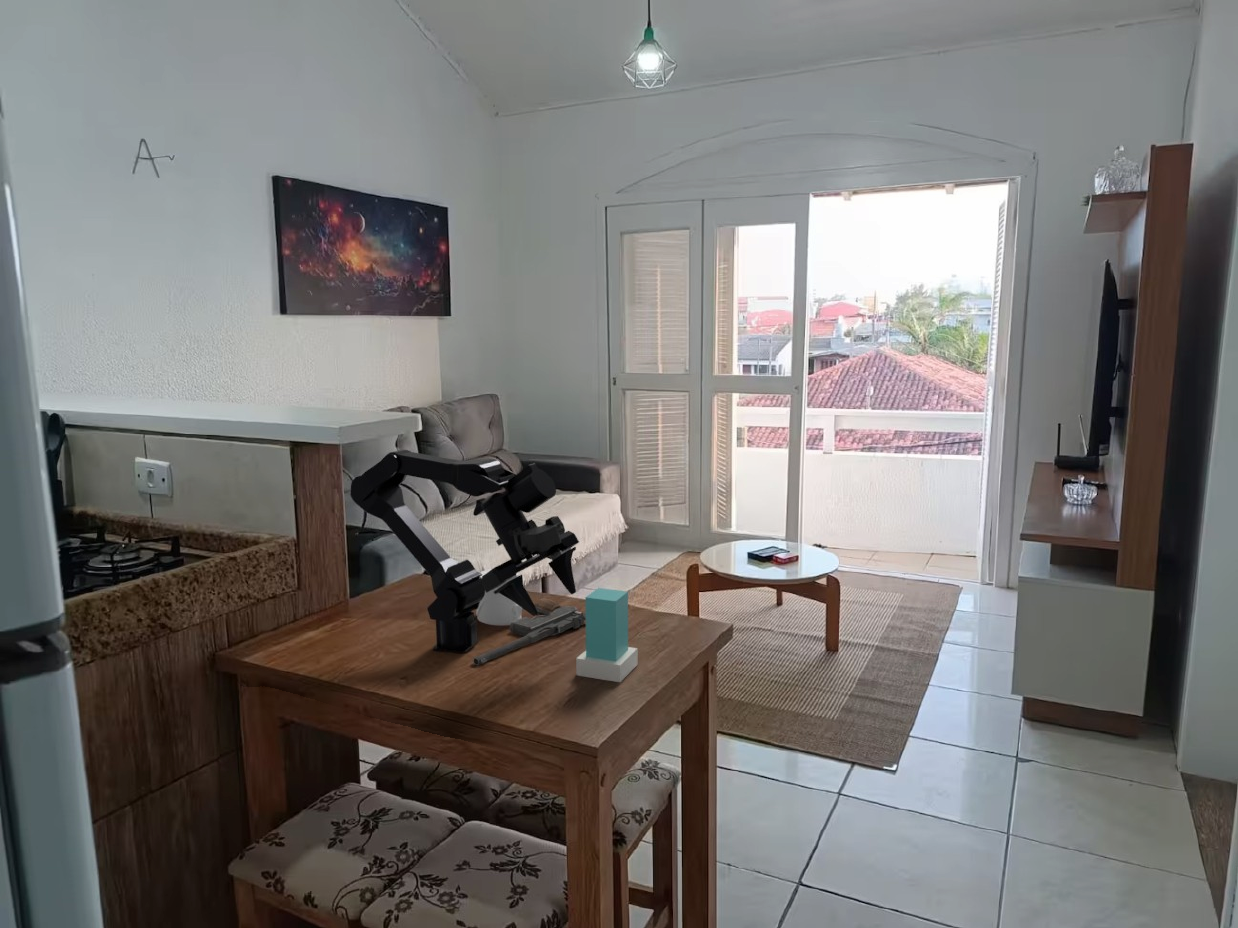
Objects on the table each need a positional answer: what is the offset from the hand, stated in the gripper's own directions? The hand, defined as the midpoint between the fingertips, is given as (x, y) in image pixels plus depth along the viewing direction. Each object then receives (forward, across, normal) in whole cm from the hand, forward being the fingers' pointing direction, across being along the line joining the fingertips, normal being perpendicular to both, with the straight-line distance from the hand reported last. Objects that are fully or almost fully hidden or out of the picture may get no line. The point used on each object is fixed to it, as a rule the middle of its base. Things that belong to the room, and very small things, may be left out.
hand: (555, 603), depth 150 cm
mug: (-4, +7, +30) cm, 31 cm away
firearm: (+2, +4, +21) cm, 22 cm away
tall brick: (+12, +3, -2) cm, 12 cm away
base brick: (+14, +3, 0) cm, 14 cm away
